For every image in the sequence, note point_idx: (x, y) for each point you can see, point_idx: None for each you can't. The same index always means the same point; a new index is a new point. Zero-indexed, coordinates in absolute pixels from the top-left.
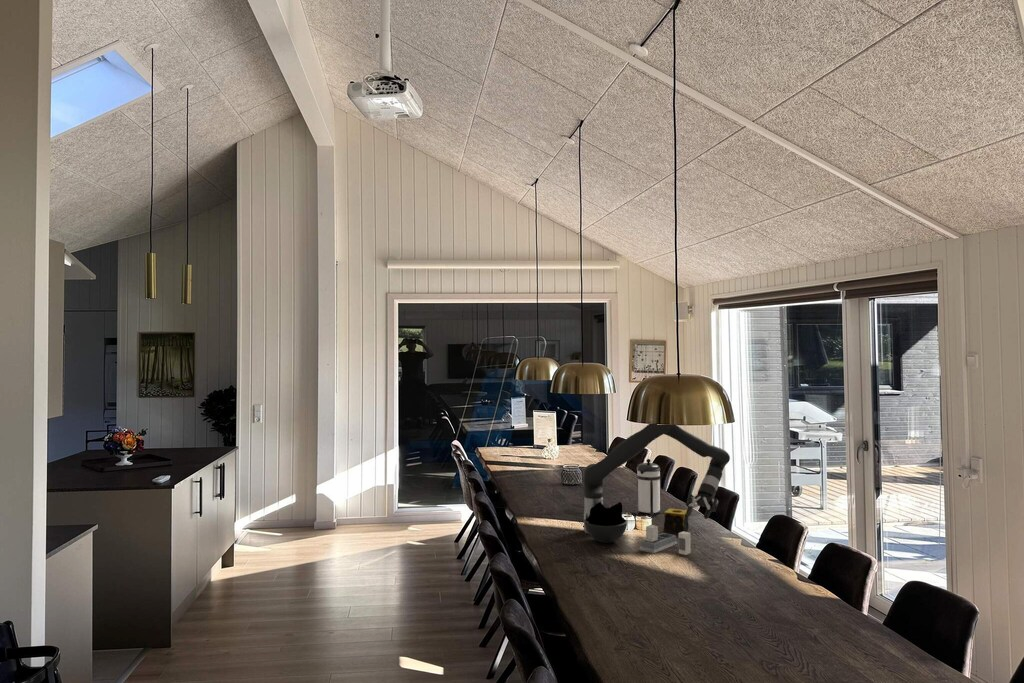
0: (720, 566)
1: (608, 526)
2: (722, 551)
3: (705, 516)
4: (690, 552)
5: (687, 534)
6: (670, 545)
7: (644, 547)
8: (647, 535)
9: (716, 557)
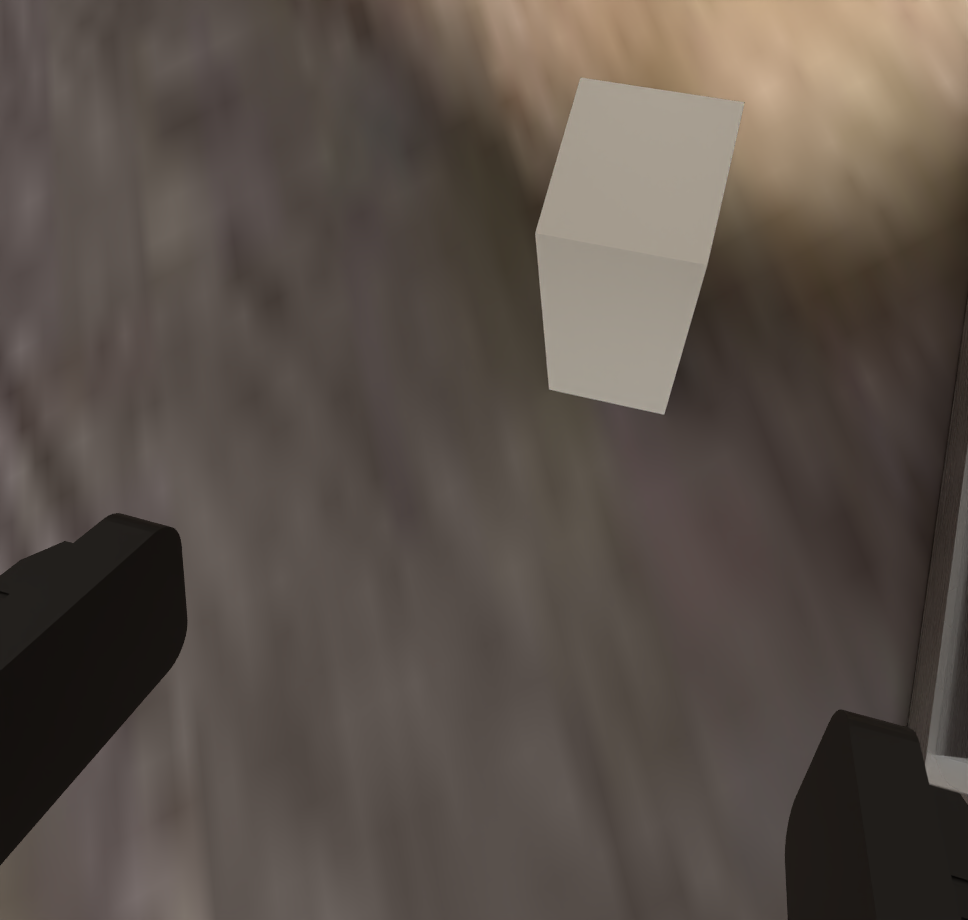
0: (124, 79)
1: None
2: None
3: (115, 523)
4: (549, 381)
5: (565, 136)
6: (939, 556)
7: None
8: None
9: (198, 367)
